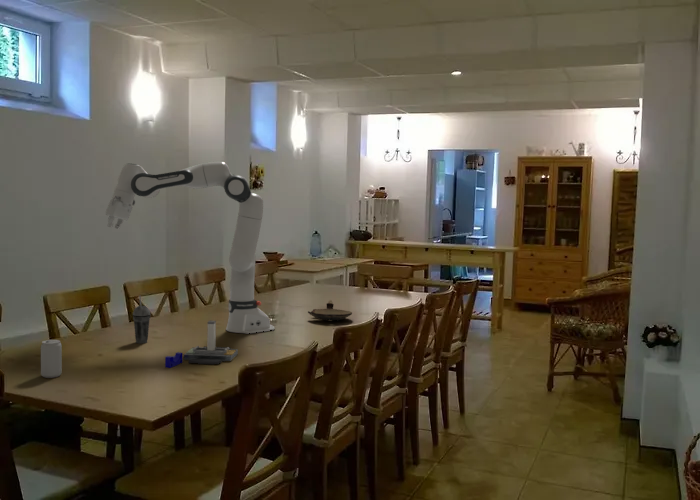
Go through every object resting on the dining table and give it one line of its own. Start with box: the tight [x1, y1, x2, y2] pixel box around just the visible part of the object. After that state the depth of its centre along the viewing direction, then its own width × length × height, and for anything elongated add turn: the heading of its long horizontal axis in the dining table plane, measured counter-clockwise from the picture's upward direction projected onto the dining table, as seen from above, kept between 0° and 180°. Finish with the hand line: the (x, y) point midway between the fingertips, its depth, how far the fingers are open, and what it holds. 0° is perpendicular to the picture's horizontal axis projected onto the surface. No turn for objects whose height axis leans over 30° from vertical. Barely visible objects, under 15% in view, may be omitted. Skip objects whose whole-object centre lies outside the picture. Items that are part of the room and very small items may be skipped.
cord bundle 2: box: [188, 359, 223, 365], centre depth 243 cm, size 12×3×1 cm, turn 87°
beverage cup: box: [132, 295, 152, 344], centre depth 273 cm, size 7×7×20 cm
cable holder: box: [164, 351, 183, 369], centre depth 240 cm, size 8×4×4 cm, turn 162°
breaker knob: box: [207, 320, 217, 351], centre depth 253 cm, size 2×3×12 cm
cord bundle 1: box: [203, 345, 232, 349], centre depth 263 cm, size 12×3×1 cm, turn 87°
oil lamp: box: [307, 299, 353, 321], centre depth 337 cm, size 22×30×8 cm
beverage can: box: [40, 339, 63, 379], centre depth 221 cm, size 6×6×12 cm
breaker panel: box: [183, 345, 239, 362], centre depth 253 cm, size 18×12×4 cm, turn 87°
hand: (113, 227), depth 291 cm, fingers open, 8 cm apart
